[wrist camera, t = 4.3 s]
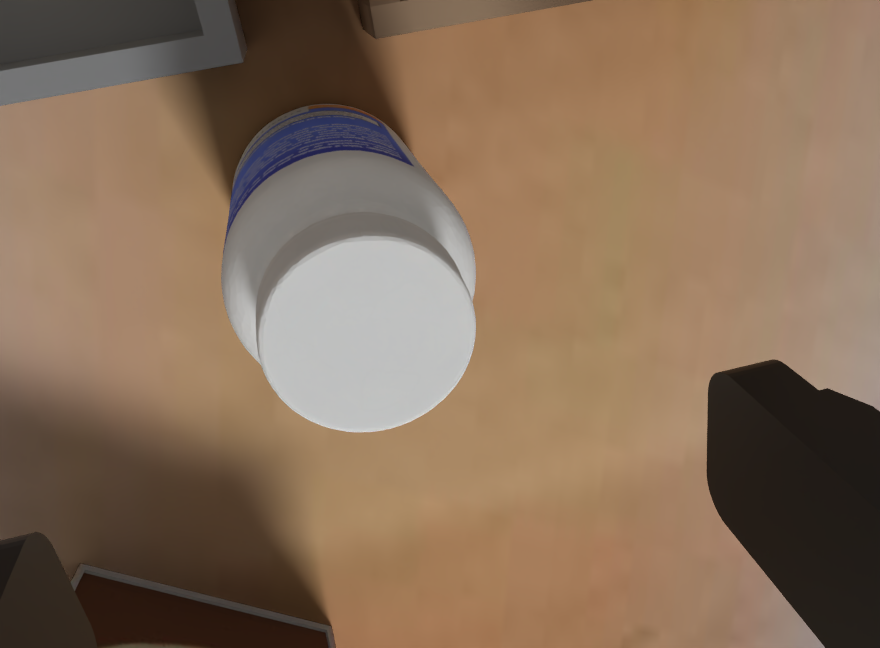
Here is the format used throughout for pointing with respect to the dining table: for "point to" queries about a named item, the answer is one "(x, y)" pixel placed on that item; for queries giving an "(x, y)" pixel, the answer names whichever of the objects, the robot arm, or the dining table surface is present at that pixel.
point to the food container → (183, 617)
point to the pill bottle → (347, 271)
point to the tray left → (110, 43)
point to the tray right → (439, 13)
